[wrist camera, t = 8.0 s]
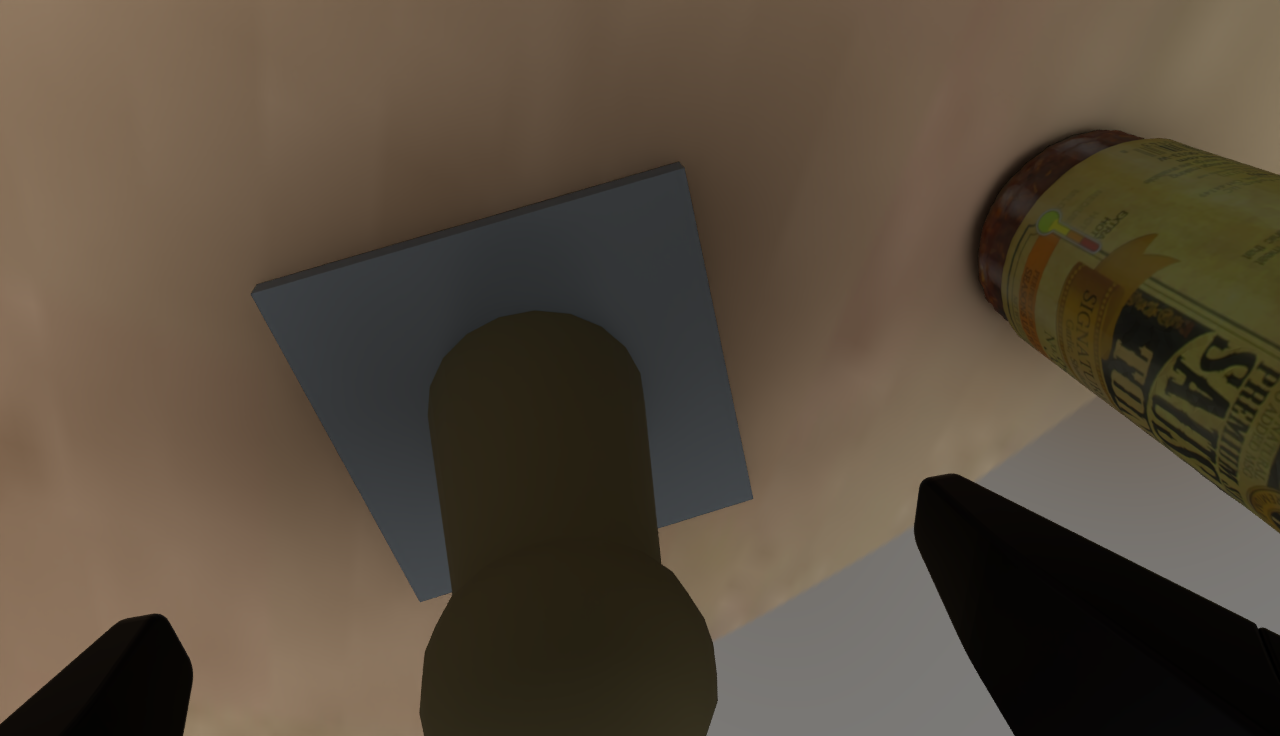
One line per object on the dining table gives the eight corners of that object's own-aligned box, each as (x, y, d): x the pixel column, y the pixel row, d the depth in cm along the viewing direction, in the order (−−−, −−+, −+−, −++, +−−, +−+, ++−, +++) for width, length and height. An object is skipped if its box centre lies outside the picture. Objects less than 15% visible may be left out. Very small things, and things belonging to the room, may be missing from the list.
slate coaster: (679, 161, 20) (684, 168, 19) (747, 487, 25) (753, 498, 25) (256, 284, 19) (250, 294, 19) (421, 588, 25) (420, 602, 24)
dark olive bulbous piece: (686, 378, 22) (839, 708, 13) (565, 523, 24) (620, 908, 14) (505, 268, 20) (528, 578, 10) (385, 440, 21) (308, 840, 12)
